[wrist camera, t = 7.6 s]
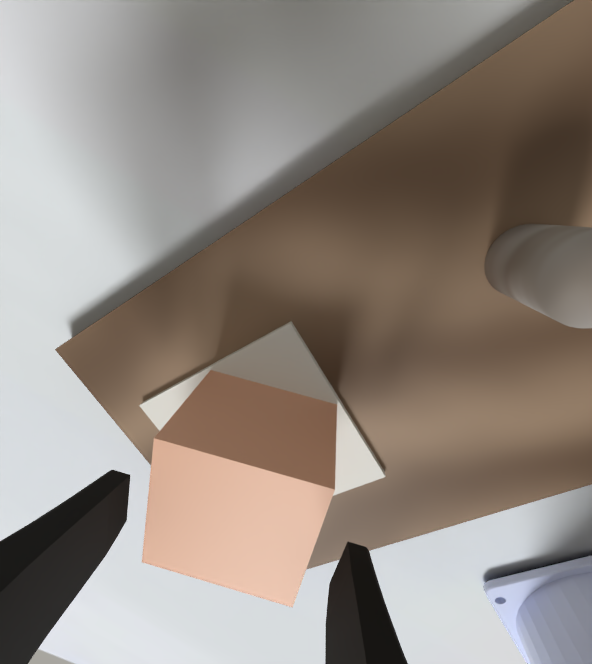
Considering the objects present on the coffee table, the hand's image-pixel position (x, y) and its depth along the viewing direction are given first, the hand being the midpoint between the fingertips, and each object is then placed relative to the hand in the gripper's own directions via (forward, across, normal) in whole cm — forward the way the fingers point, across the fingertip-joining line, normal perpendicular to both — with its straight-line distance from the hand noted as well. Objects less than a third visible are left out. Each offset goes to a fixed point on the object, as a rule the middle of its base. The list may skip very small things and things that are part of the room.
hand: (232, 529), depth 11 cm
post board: (+6, -4, -4) cm, 8 cm away
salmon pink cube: (+4, 0, 0) cm, 4 cm away
